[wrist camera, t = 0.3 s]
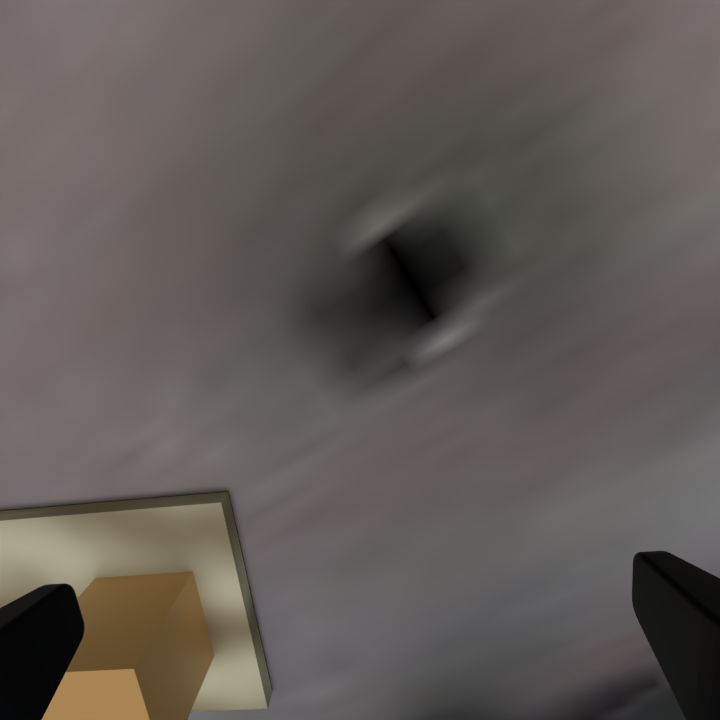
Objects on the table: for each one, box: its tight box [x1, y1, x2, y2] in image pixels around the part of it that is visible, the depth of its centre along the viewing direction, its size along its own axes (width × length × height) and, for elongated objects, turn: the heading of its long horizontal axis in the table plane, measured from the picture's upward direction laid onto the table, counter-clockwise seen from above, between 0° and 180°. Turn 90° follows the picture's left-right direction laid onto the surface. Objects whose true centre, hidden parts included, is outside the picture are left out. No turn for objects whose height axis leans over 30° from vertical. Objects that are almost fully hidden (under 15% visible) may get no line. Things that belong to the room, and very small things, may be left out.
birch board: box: [0, 492, 272, 712], centre depth 25 cm, size 13×20×1 cm, turn 97°
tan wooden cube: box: [42, 571, 214, 720], centre depth 21 cm, size 5×5×6 cm
